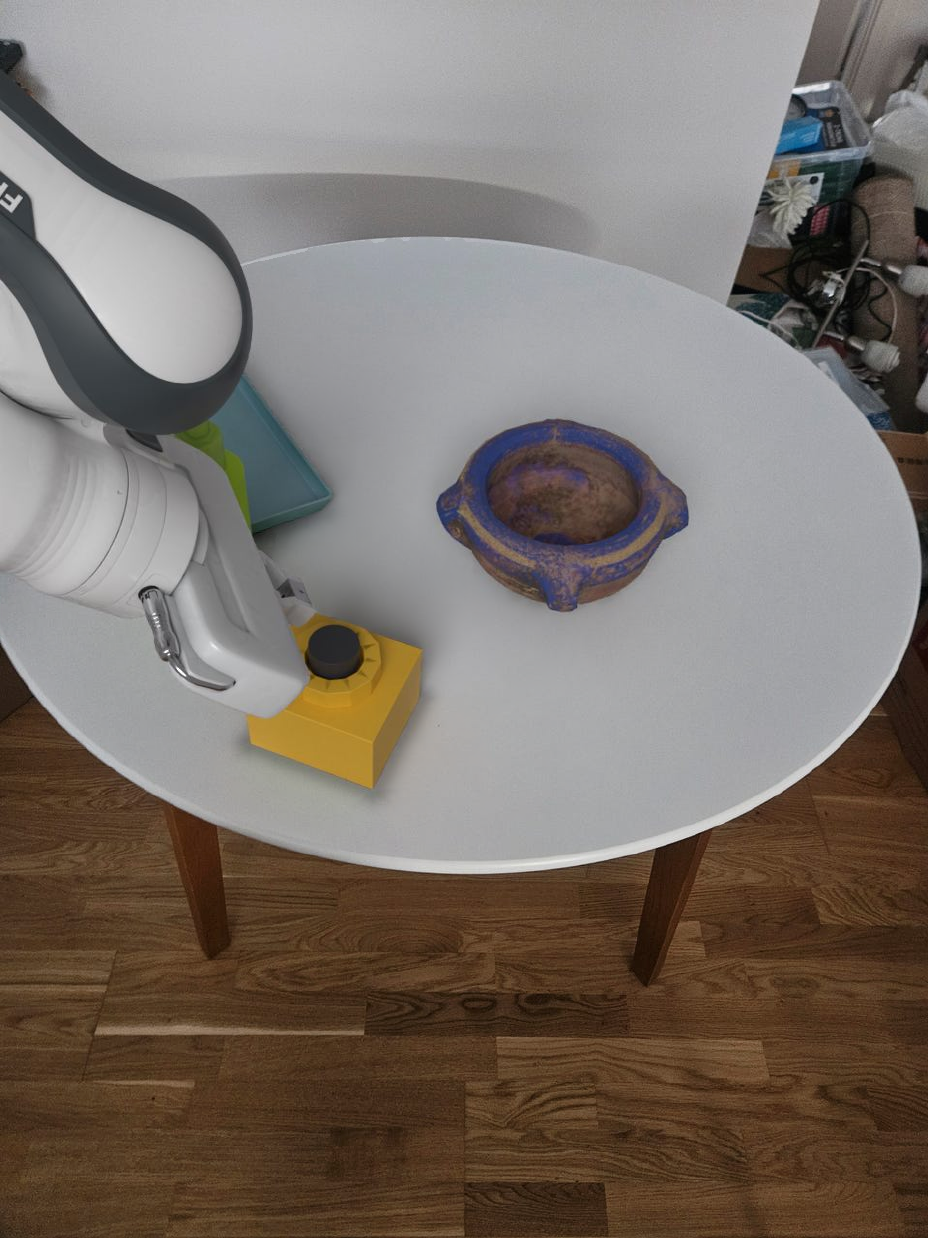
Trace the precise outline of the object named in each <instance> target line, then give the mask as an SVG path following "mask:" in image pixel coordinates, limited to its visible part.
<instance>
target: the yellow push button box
mask: <svg viewBox="0 0 928 1238" xmlns="http://www.w3.org/2000/svg"><path fill="white" fill-rule="evenodd" d="M289 625H290V624H289ZM327 625H342V626H346V627H348V628H350V629H351V630H353V631H354V632H355V633H356V634H357V636H358V638H359V641H360V663H359V666H358V668H357V669H356V670H355V671H354V672H353V673H352V674H351V675H349V676H347V677H345V678H342V679H326V678H323V677H321V676H319V675H317V674H316V673H315V672H314V671H313V670H312V669H311V667H310V664H309V654H308V641H309V638H310V637H311V635H312V634H313V633H314V632H315V631H316V630H317V629H319V628H321V627H323V626H327ZM290 628H291V630H292V633H293V635H294V637H295V640H296V642H297V644H298V647H299V649H300V652H301V654H302V656H303V659H304V661H305V664H306V666H307V668H308V671H309V673H310V682H309V684H308V685H307V686H306V688H305V689H304V690H303V691H302V692H301V693H300V694H299V696H298V697H297V698H296V699H295V700H294V701H293V702H292V703H291V704H290V705H289V706H287V707H286V708H285V709H284V710H283V711H281V712H280V713H279V714H277V715H276V716H274V717H272V718H268V719H264V718H259V717H256V716H252V715H249V714H246V713H245V716H246V722H247V728H248V736H249V742H250V744H251V745H254V746H256V747H259V748H262V749H264V750H267V751H269V752H272V753H274V754H278V755H280V756H283V757H286V758H288V759H291V760H294V761H295V762H298V763H301V764H304V765H307V766H309V767H312V768H315V769H316V770H320V771H323V772H326V773H328V774H330V775H333V776H336V777H338V778H341V779H344V780H347V781H349V782H352V783H354V784H357V785H360V786H363V787H365V788H368V789H370V790H374V787H375V785H376V784H377V782H378V780H379V778H380V776H381V774H382V772H383V770H384V768H385V766H386V765H387V762H388V761H389V758H390V757H391V754H392V752H393V751H394V749H395V746H396V745H397V743H398V741H399V739H400V737H401V735H402V733H403V731H404V729H405V727H406V725H407V724H408V721H409V719H410V718H411V715H412V714H413V711H414V709H415V707H416V706H417V704H418V701H419V700H420V693H421V676H422V665H423V664H422V663H423V662H422V661H423V648H422V649H421V648H420V647H416V646H413V645H410V644H407V643H405V642H402V641H399V640H396V639H393V638H390V637H387V636H384V635H381V634H378V633H377V632H376V633H375V632H374V631H370V630H368V629H366V628H365V627H362V626H359V625H356V624H353V623H350V622H347V621H344V620H339V619H336V618H332V617H330V616H326V615H323V614H320V613H317V612H315V614H314V616H313V617H312V618H311V619H310V620H309V621H307V622H306V623H305V624H304V625H303V626H300V627H296V626H293V625H290Z"/></svg>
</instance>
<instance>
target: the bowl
mask: <svg viewBox="0 0 928 1238" xmlns="http://www.w3.org/2000/svg"><path fill="white" fill-rule="evenodd" d="M435 507H436V509H435V510H436V513H437V516H438V518H439V521H440V524H441V525H442V526H443V528H444V530H445V531H446V532H447V533H448V534H449V536H451V538H452V539H454V540H455V541H457V542H458V543H460V544H461V545H462V546H464V547H465V548H466V549H467V550H470V552H471V553H472V555H473V557H474V558H475V560H476V561H477V562H478V564H479V565H480V566H481V568H482V569H483V570H484V571H485V572H486V573H487V574H488V575H489V576H490V577H491V578H493V579H494V580H495V581H496V582H498V583H499V584H500V585H502V586H503V587H505V588H507V589H509V591H512V592H513V593H516V594H518V595H519V596H523V597H525V598H526V599H530V600H533V601H537V602H539V603H542V604H546V606H547V607H548V609H549V610H551V611H555V612H560V613H567V612H573V611H574V610H576V609H578V605H584V604H589V603H593V602H596V601H598V600H602V599H605V598H607V597H610V596H612V595H615V594H617V593H618V592H620V591H621V590H623V589H624V588H626V587H628V586H629V585H630V584H632V582H634V581H635V580H636V579H637V578H638V577H639V576H640V575H641V574H642V573H643V571H644V570H645V569H646V567H647V565H648V564H649V562H650V560H651V559H652V557H653V556H654V554H655V553H656V552H657V550H658V548H659V547H660V545H661V543H662V542H663V540H666V539H669V538H671V537H673V536H674V535H675V534H678V533H680V532H682V531H683V530H684V529H685V528H688V526H689V522H690V514H689V512H690V511H689V506H688V500H687V495H686V493H685V492H684V491H683V489H682V488H680V487H679V486H678V485H676V484H675V483H674V482H672V480H670V479H669V478H668V477H667V476H666V475H664V474H663V473H662V471H661V470H660V469H659V467H658V466H657V465H656V464H655V462H653V460H652V459H651V458H650V456H649V455H648V454H647V453H645V452H644V451H643V450H642V449H641V448H639V447H638V446H636V445H635V444H634V443H632V442H631V441H630V440H628V439H626V438H624V437H621V436H619V435H618V434H615V433H613V432H611V431H609V430H606V429H603V428H600V427H595V426H592V425H588V424H584V423H580V422H577V421H575V420H570V419H563V418H554V419H553V418H547V419H543V420H540V421H535V422H534V421H533V422H529V423H525V424H522V425H518V426H514V427H511V428H507V429H504V430H503V431H501V432H499V433H497V434H496V435H494V436H492V437H490V438H488V439H487V440H485V441H484V442H483V443H482V444H481V445H480V446H479V447H478V448H477V449H476V450H474V452H473V453H472V454H471V455H470V456H469V458H468V460H467V461H466V463H465V465H464V467H463V469H462V471H461V473H460V475H459V476H458V478H457V479H456V482H455V483H453V484H452V485H451V486H449V487H447V489H445V490H444V491H442V492H441V493H440V494H439V495H438V498H437V499H436V502H435Z"/></svg>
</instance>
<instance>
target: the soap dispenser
mask: <svg viewBox="0 0 928 1238" xmlns="http://www.w3.org/2000/svg"><path fill="white" fill-rule="evenodd" d="M173 436H175V437H177V438H179V439H180V440H182V441H184V442H186V443H188V444H190V445H191V446H193V447H195V448H197V449H198V450H200V451H202V452H203V453H205V454H207V455H208V456H209V457H211V458H212V459H213V460H214V461H215V462H216V463H217V464H218V465H219V466H220V467H221V468H222V469H223V470H224V471H225V473H226V474H227V477H228V479H229V482H230V484H231V487H232V489H233V492H234V494H235V496H236V499H237V501H238V504H239V506H240V508H241V511H242V513H243V515H244V518H245V520H246V523H247V525H248V527H249V530H250V532H251V535H252V536H253V533H252V529H251V521H250V513H249V505H248V497H247V489H246V481H245V473H244V467H243V464H242V462H241V460H240V459H239V457H238V456H236V455H235V454H234V453H232V452H230V451H228V450H226V449H224V446H223V439H222V433H221V430H220V428H219V427H218V426H217V425H216V424H214V423H213V422H210V421H208V420H207V421H205V422H204V423H202V424H200V425H199V426H197V427H195V428H192V429H190V430H187V431H184V432H181V433H177V434H173Z"/></svg>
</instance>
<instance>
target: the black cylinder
mask: <svg viewBox="0 0 928 1238" xmlns="http://www.w3.org/2000/svg"><path fill="white" fill-rule="evenodd" d="M308 654H309V664H310V667H311V669H312V670H313V671H314V672H315V673H316V674H317V675H319V676H321V677H323V678H326V679H342V678H345V677H347V676H349V675H351V674H352V673H353V672H354V671H355V670H356V669H357V668H358V666H359V663H360V641H359V638H358V636H357V634H356V633H355V632H354V631H353V630H351V629H350V628H348V627H346V626H342V625H327V626H323V627H321V628H319V629H317V630H316V631H315V632H314V633H313V634H312V635H311V637H310V638H309V641H308Z"/></svg>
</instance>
